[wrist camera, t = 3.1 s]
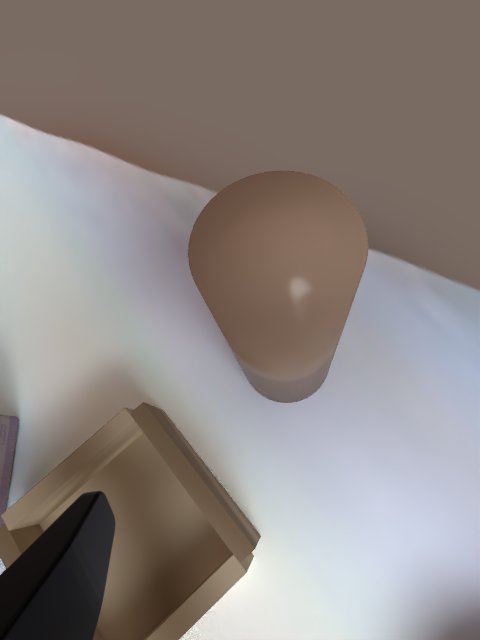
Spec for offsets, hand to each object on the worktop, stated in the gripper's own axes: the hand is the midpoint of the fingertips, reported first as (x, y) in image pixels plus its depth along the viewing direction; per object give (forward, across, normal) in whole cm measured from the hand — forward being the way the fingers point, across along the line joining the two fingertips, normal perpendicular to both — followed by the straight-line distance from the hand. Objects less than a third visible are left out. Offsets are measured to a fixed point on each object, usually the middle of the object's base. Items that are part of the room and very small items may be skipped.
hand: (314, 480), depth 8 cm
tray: (+7, +8, +10) cm, 15 cm away
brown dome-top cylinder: (+12, 0, +4) cm, 13 cm away
